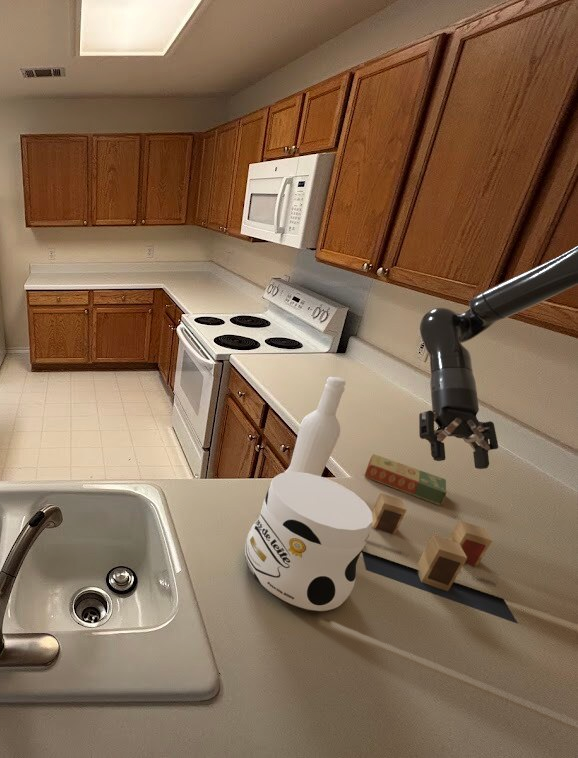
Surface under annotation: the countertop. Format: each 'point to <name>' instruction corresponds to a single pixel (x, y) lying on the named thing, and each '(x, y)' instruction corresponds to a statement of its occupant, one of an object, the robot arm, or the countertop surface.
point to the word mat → (455, 592)
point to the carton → (407, 479)
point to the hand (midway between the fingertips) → (460, 464)
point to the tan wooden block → (388, 513)
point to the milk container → (308, 540)
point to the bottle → (318, 432)
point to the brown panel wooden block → (441, 563)
